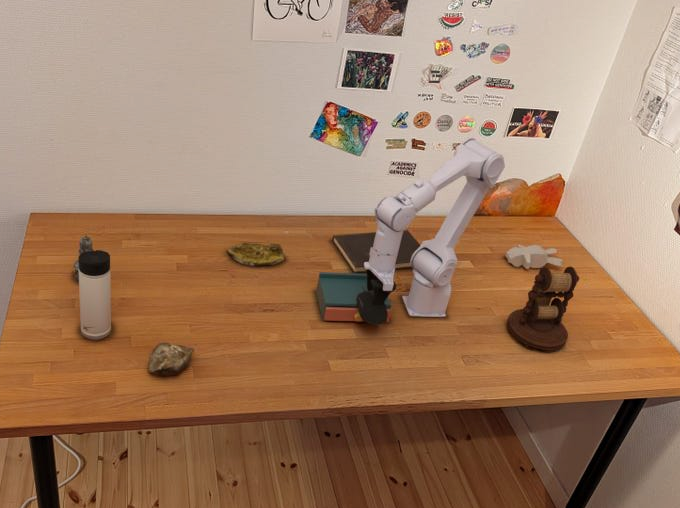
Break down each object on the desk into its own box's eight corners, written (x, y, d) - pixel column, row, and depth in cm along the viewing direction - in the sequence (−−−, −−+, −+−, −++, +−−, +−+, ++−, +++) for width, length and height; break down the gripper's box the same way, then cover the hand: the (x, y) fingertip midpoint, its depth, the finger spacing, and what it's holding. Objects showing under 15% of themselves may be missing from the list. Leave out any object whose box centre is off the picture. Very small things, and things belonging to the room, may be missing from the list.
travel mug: (85, 343, 157) (82, 265, 146) (77, 325, 162) (74, 248, 151) (114, 338, 160) (114, 261, 149) (106, 319, 165) (106, 244, 154)
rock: (160, 380, 148) (202, 370, 155) (156, 347, 148) (199, 338, 155) (141, 376, 154) (183, 366, 161) (138, 344, 153) (180, 336, 160)
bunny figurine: (504, 240, 213) (555, 240, 214) (501, 255, 216) (551, 255, 217) (513, 259, 205) (566, 258, 206) (510, 274, 208) (562, 273, 209)
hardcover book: (430, 266, 203) (432, 259, 202) (354, 273, 195) (355, 266, 194) (405, 235, 215) (406, 228, 214) (331, 241, 207) (333, 233, 206)
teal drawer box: (377, 294, 189) (382, 274, 185) (387, 321, 180) (392, 301, 176) (315, 292, 185) (319, 271, 182) (322, 319, 176) (326, 299, 173)
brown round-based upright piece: (547, 316, 192) (573, 251, 181) (575, 354, 180) (605, 287, 169) (495, 316, 188) (519, 250, 177) (520, 355, 176) (547, 287, 165)
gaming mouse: (375, 287, 181) (378, 274, 179) (389, 327, 169) (393, 314, 167) (350, 287, 180) (353, 274, 177) (362, 327, 168) (366, 313, 165)
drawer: (379, 295, 187) (381, 284, 185) (389, 325, 177) (392, 313, 176) (317, 293, 184) (319, 282, 182) (324, 323, 174) (327, 312, 172)
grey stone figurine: (68, 279, 175) (66, 236, 168) (84, 267, 180) (82, 225, 173) (89, 287, 174) (88, 244, 167) (104, 275, 178) (104, 233, 172)
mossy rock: (226, 267, 190) (284, 270, 193) (227, 253, 187) (286, 257, 190) (226, 244, 197) (282, 248, 200) (227, 230, 194) (284, 234, 197)
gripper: (361, 230, 170) (351, 279, 178) (375, 266, 158) (364, 316, 166) (391, 231, 172) (380, 279, 179) (407, 267, 160) (394, 317, 167)
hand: (374, 297), depth 173 cm, fingers closed on gaming mouse, 5 cm apart
